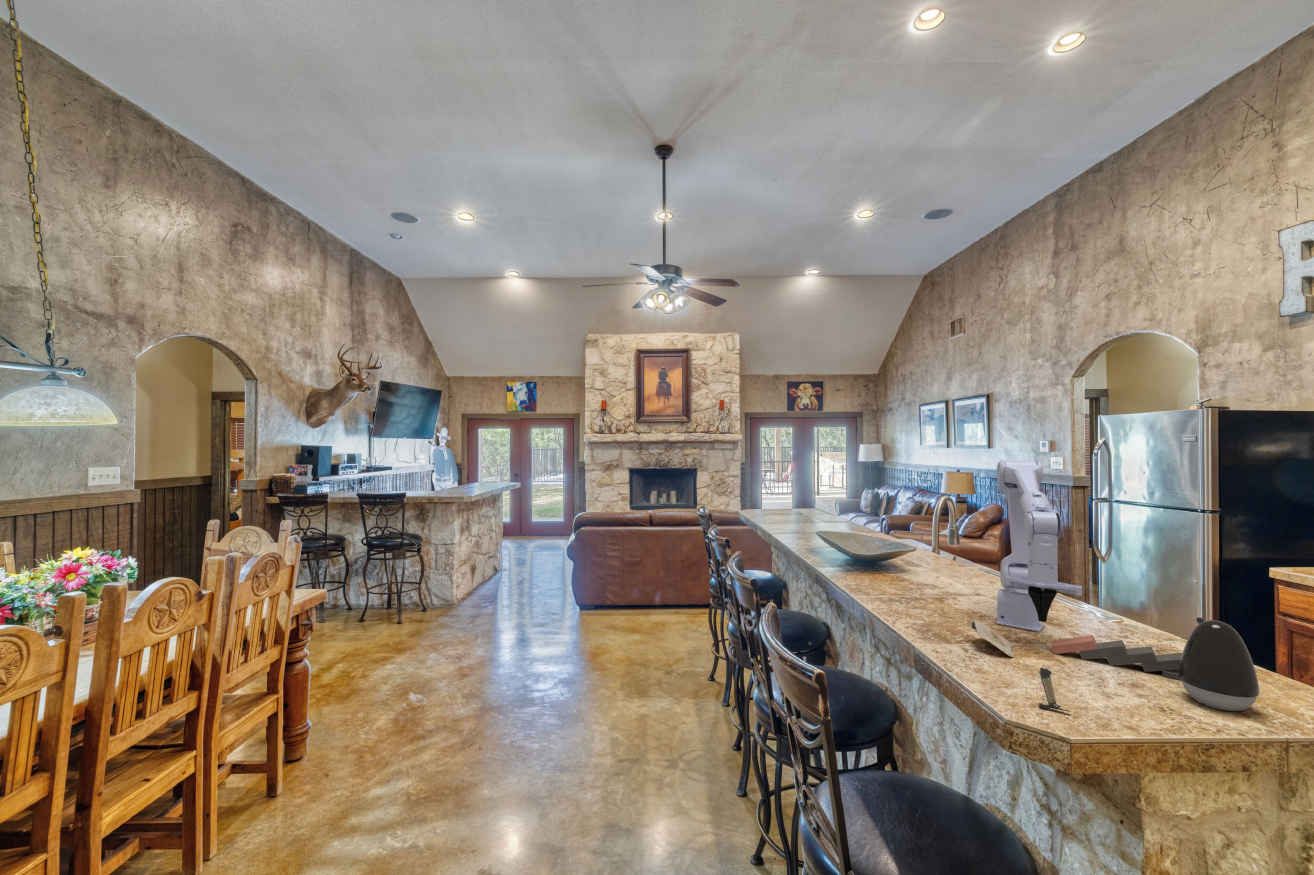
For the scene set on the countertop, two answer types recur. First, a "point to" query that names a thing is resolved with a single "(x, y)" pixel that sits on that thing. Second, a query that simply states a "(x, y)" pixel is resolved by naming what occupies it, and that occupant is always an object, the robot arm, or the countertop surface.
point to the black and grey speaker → (1218, 667)
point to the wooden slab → (993, 638)
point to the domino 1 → (1105, 650)
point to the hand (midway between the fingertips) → (1042, 620)
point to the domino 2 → (1134, 656)
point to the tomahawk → (1049, 693)
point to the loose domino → (1073, 644)
